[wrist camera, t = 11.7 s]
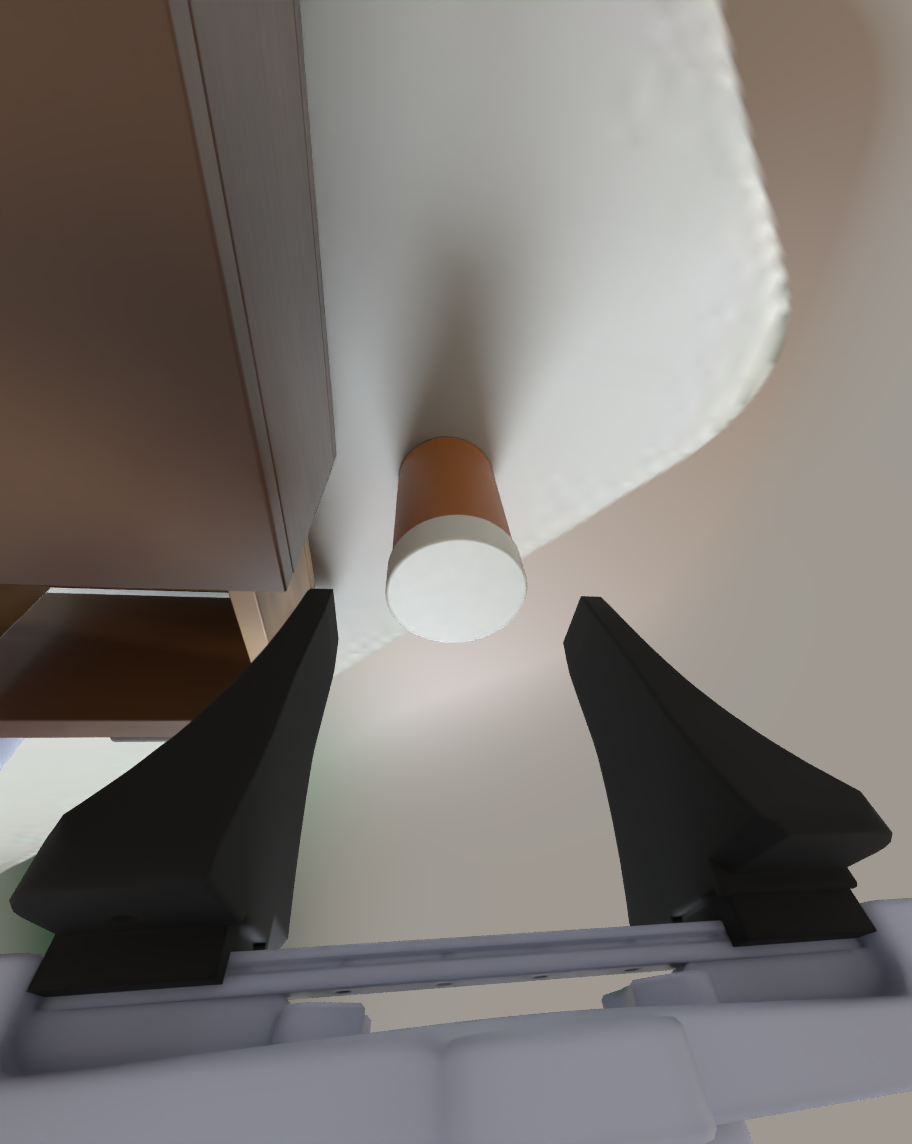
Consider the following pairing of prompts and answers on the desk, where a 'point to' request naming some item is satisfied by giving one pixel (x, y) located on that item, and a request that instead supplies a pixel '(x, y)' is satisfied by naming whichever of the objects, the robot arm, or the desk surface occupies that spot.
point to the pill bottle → (452, 547)
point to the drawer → (128, 656)
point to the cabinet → (158, 296)
